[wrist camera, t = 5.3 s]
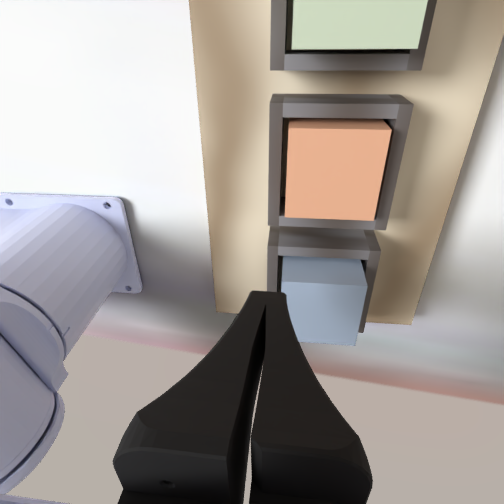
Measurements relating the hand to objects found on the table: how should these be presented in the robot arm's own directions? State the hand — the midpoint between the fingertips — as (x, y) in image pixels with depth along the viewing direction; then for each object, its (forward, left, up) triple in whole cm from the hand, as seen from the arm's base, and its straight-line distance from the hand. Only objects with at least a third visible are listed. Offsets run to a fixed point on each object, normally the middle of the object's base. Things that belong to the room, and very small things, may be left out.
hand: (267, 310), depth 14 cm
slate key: (+3, -4, -7) cm, 9 cm away
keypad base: (+3, +3, -10) cm, 11 cm away
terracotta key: (+3, +3, -9) cm, 10 cm away
